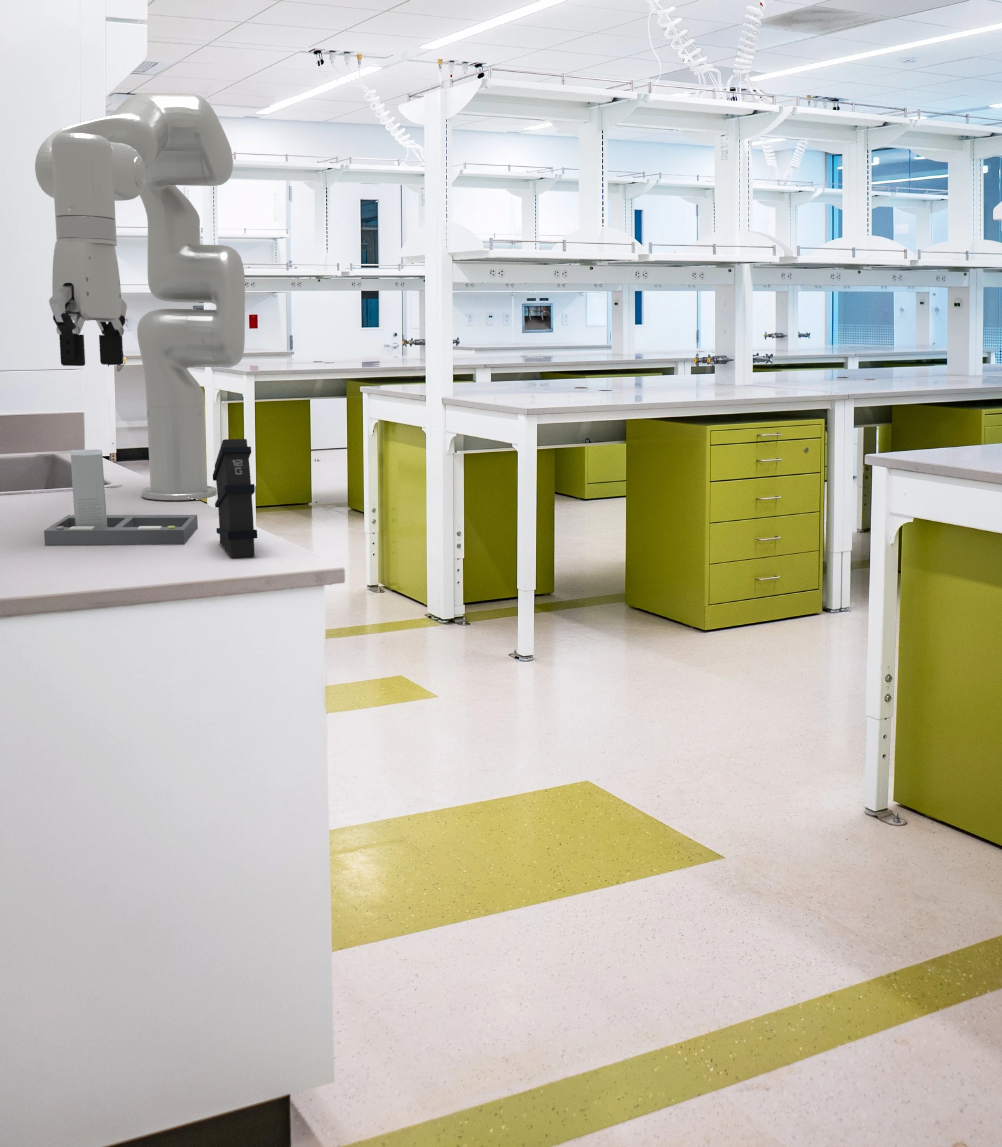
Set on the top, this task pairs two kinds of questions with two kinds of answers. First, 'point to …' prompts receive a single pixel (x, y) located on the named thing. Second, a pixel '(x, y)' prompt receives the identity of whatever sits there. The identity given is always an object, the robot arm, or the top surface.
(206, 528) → the top surface
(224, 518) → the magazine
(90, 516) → the skincare box
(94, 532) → the socket panel
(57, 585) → the top surface
